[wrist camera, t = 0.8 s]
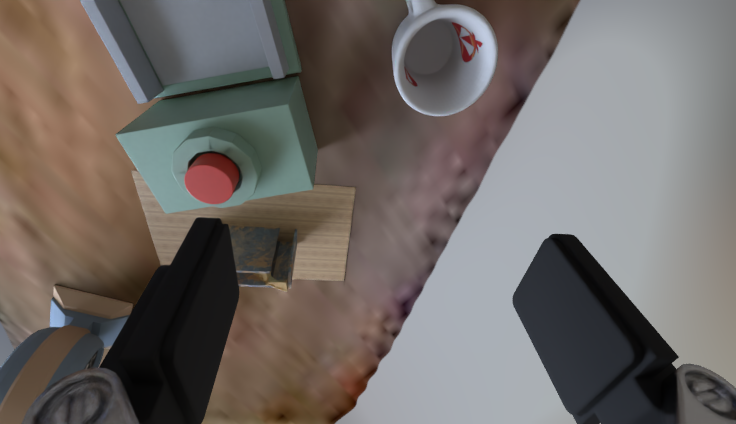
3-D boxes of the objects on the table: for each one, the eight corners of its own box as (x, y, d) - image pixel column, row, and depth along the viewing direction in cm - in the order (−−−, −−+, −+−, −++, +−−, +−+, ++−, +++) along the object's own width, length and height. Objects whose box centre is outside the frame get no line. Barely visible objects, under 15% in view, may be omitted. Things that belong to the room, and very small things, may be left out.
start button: (185, 156, 27) (174, 169, 25) (229, 148, 27) (222, 161, 25) (204, 194, 29) (196, 208, 27) (246, 187, 29) (240, 200, 27)
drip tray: (63, -68, 26) (22, -73, 22) (257, -106, 25) (245, -117, 22) (151, 96, 33) (129, 111, 30) (302, 69, 33) (298, 81, 29)
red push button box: (158, 100, 33) (101, 144, 25) (298, 75, 33) (285, 112, 25) (195, 170, 38) (157, 226, 30) (317, 150, 38) (312, 200, 30)
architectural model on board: (297, 226, 44) (288, 283, 36) (297, 243, 45) (288, 302, 38) (204, 220, 42) (174, 279, 34) (208, 239, 44) (180, 299, 36)
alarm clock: (121, 350, 56) (48, 481, 42) (51, 337, 53) (-53, 473, 39) (134, 299, 50) (52, 434, 35) (55, 280, 46) (-71, 421, 32)
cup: (355, -11, 29) (360, -3, 23) (443, -61, 27) (475, -69, 21) (401, 102, 35) (415, 133, 29) (476, 66, 33) (508, 90, 27)
